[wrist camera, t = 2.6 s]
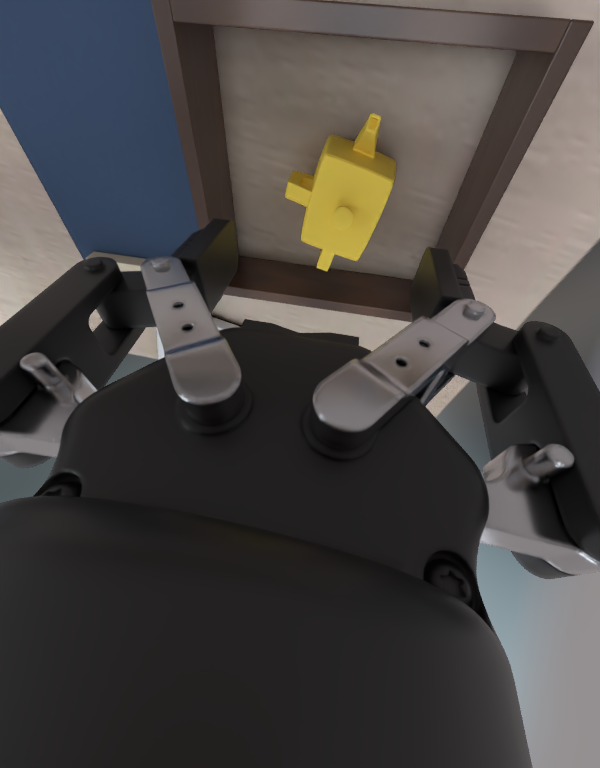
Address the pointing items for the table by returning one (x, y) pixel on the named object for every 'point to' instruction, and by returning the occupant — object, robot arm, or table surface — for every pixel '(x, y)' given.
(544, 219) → the table surface
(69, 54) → the bed mat
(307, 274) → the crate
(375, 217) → the teapot
